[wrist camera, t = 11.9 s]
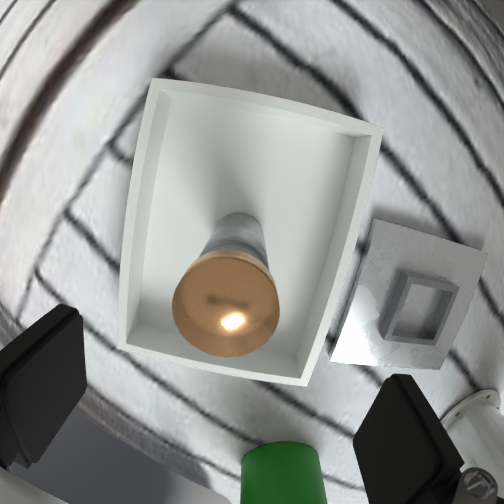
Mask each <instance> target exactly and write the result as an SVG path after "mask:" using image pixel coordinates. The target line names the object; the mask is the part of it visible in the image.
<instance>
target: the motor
mask: <svg viewBox="0 0 504 504" xmlns="http://www.w3.org/2000/svg"><path fill="white" fill-rule="evenodd" d="M240 504H327V498H326V493H325V488H324V482H323V477H322V472H321V466H320V461H319V456H318V454H317V452H316V451H315V450H314V449H312V448H311V447H309V446H306V445H303V444H299V443H292V442H280V443H272V444H267V445H264V446H260V447H258V448H256V449H254V450H252V451H250V452H249V453H248V454H246V456H245V457H244V458H243V460H242V466H241V497H240Z"/></svg>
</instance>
